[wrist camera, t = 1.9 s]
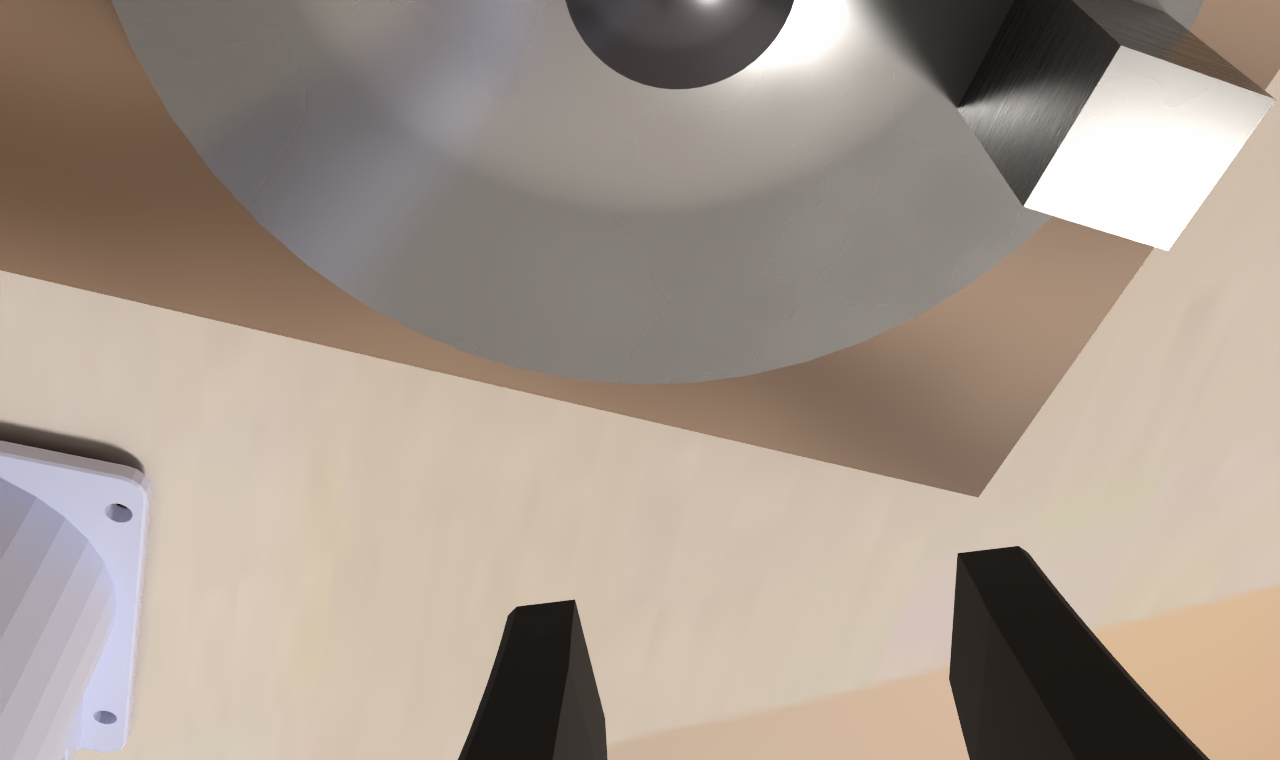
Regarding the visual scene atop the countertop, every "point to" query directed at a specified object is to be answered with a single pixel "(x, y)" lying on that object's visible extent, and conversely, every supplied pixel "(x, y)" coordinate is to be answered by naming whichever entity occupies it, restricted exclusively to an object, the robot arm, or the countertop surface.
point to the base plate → (325, 314)
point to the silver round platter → (689, 157)
